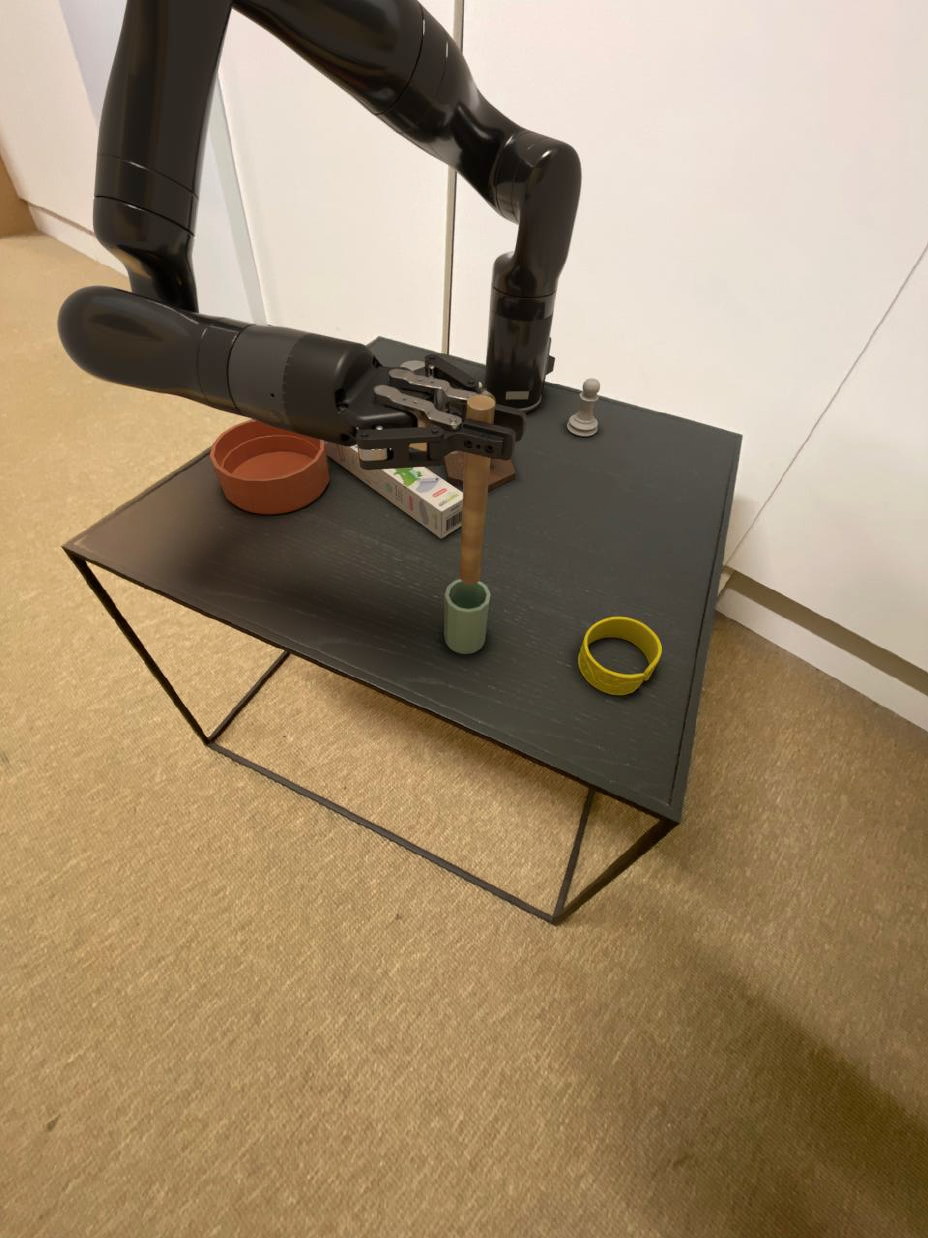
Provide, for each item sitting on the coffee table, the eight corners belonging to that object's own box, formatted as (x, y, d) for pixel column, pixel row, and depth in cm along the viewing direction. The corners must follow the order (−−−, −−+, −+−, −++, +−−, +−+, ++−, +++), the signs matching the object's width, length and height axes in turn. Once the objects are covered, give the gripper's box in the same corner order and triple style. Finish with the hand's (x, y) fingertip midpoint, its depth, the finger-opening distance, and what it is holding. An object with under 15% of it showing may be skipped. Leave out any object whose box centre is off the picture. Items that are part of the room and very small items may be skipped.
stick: (468, 566, 55) (479, 391, 41) (484, 576, 54) (501, 401, 40) (455, 577, 54) (461, 401, 40) (471, 588, 53) (483, 412, 39)
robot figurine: (519, 491, 77) (530, 411, 68) (451, 496, 76) (453, 414, 67) (503, 444, 84) (511, 365, 75) (441, 448, 83) (441, 368, 73)
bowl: (286, 439, 83) (277, 404, 78) (352, 480, 77) (347, 445, 73) (201, 482, 76) (187, 447, 71) (267, 531, 70) (256, 496, 66)
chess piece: (602, 434, 87) (615, 384, 80) (575, 439, 85) (586, 389, 79) (587, 418, 89) (598, 368, 83) (561, 423, 88) (570, 373, 82)
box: (441, 539, 71) (309, 442, 82) (466, 523, 73) (333, 430, 85) (441, 511, 67) (303, 414, 79) (467, 495, 69) (329, 403, 81)
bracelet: (563, 661, 59) (568, 642, 57) (611, 623, 63) (618, 604, 60) (617, 707, 56) (626, 690, 54) (665, 665, 60) (675, 646, 57)
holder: (462, 615, 63) (465, 571, 57) (493, 636, 61) (499, 593, 56) (436, 638, 61) (436, 595, 55) (467, 661, 59) (470, 618, 54)
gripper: (241, 380, 37) (491, 442, 34) (343, 299, 45) (551, 342, 42) (268, 475, 43) (484, 535, 39) (354, 388, 51) (538, 432, 48)
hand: (517, 436), depth 41 cm, fingers closed on stick, 2 cm apart
